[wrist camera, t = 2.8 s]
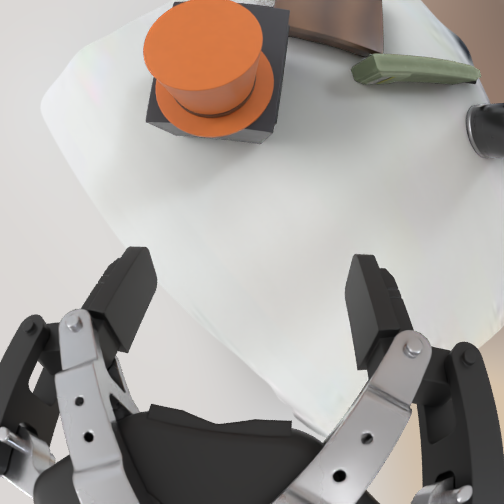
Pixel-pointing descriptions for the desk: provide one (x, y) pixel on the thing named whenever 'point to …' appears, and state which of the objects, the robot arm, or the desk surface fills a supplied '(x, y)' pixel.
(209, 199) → the desk surface
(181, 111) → the hat
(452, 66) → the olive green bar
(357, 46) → the stand
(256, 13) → the dark grey cube pedestal
